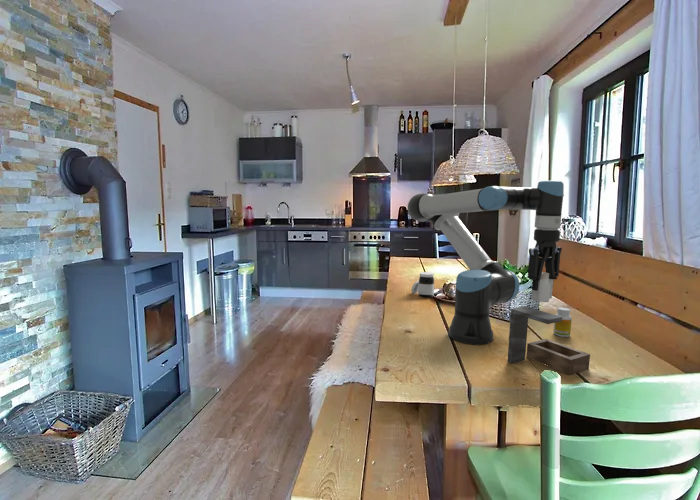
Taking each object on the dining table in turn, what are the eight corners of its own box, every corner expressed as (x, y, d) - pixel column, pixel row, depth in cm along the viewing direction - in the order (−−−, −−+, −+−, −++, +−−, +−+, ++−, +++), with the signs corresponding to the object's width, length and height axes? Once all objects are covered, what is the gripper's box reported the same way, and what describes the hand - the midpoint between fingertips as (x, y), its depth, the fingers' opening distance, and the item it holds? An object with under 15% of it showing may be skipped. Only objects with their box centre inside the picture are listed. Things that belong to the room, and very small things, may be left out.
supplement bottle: (572, 337, 139) (574, 311, 138) (555, 336, 140) (558, 310, 139) (567, 332, 144) (569, 307, 143) (551, 331, 145) (553, 306, 144)
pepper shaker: (549, 303, 127) (551, 274, 126) (535, 302, 129) (538, 273, 127) (546, 300, 131) (549, 272, 130) (533, 299, 132) (535, 271, 131)
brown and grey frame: (507, 362, 118) (511, 308, 115) (545, 352, 126) (549, 301, 124) (550, 381, 105) (555, 322, 103) (588, 368, 114) (594, 313, 111)
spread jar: (433, 299, 191) (434, 275, 190) (410, 297, 194) (410, 274, 192) (434, 293, 203) (434, 271, 201) (412, 291, 206) (412, 270, 204)
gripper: (539, 230, 119) (533, 304, 122) (575, 229, 128) (569, 298, 131) (518, 228, 126) (513, 299, 129) (554, 227, 134) (548, 293, 137)
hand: (541, 298), depth 130 cm, fingers closed on pepper shaker, 5 cm apart
